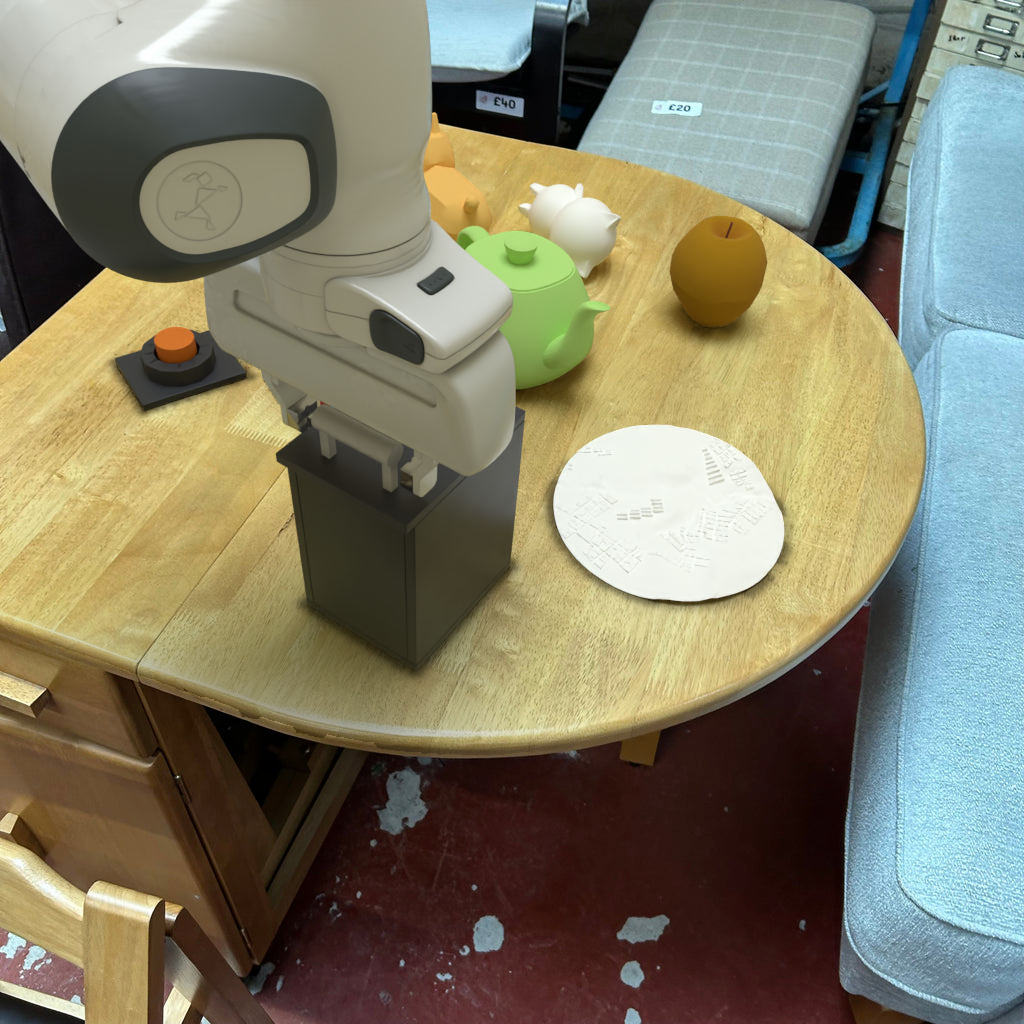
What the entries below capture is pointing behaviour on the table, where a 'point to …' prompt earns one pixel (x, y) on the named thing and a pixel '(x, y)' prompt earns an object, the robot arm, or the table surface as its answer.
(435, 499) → the storage box lid
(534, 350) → the teapot
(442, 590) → the lidded storage box
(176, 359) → the button
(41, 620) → the table surface
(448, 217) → the dog
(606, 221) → the cat figurine
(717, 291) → the apple
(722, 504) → the plaque
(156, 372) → the box
